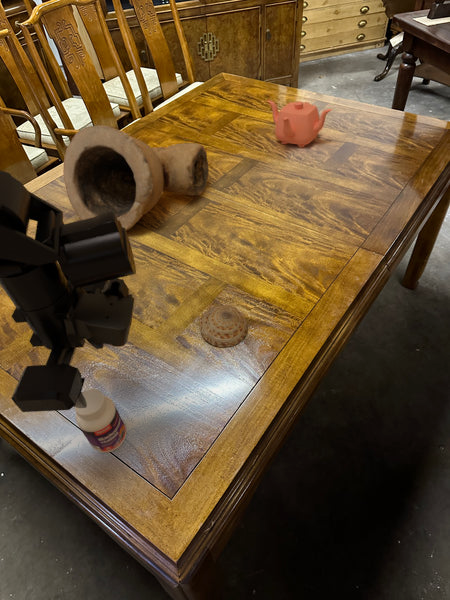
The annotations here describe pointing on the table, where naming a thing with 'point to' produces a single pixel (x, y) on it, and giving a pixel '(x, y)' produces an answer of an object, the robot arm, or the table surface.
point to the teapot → (297, 122)
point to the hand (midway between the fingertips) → (91, 375)
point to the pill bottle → (100, 422)
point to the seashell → (223, 326)
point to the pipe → (128, 173)
